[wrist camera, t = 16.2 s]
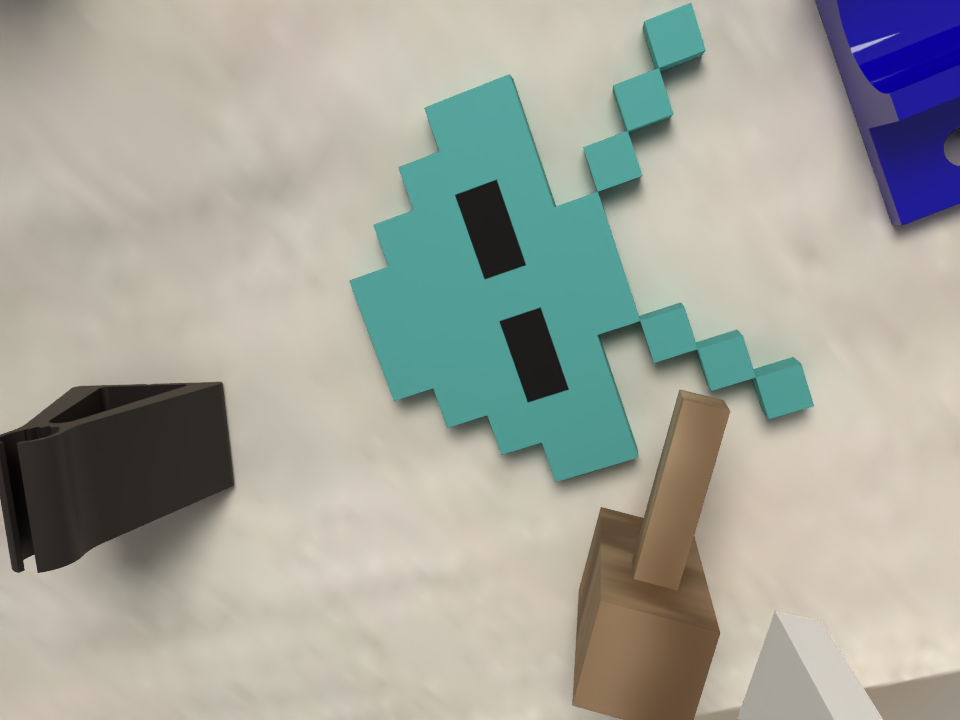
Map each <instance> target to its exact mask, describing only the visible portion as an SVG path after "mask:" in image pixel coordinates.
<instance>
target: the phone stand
mask: <svg viewBox="0 0 960 720" xmlns="http://www.w3.org/2000/svg"><path fill="white" fill-rule="evenodd" d="M233 485H234V483H233V474H232V466H231V457H230V448H229V440H228V431H227V422H226V414H225V405H224V396H223V388H222V382H204V383H170V384H151V385H147V384H136V385H102V386H78V387H73V388H71V389H70V390H69V391H68V392H66V393H65V394H64V395H63V396H61V397H60V398H59V399H57V400H56V401H55V402H54V403H52V404H51V405H50V406H48V407H47V408H46V409H45V410H43V411H42V412H41V413H40V414H38V415H37V416H36V417H34V418H33V419H32V420H31V421H29V422H28V423H27V424H25V425H24V426H22V427H20V428H18V429H15V430H13V431H10V432H7V433H4V434H1V435H0V500H1V506H2V512H3V518H4V524H5V530H6V536H7V542H8V548H9V554H10V560H11V566H12V570H13V571H15V572H18V573H19V572H22V571H24V570H25V569H24V563H23V560H24V559H26V558H28V557H30V556H32V555H35V559H36V565H37V571H38V573H40V572H46V571H51V570H55V569H58V568H61V567H64V566H67V565H69V564H71V563H73V562H75V561H77V560H78V559H80V558H81V557H82V556H83V555H84V554H85V553H87V552H88V551H89V550H91V549H92V548H94V547H96V546H98V545H100V544H102V543H104V542H106V541H108V540H111V539H113V538H115V537H117V536H120V535H122V534H124V533H127V532H129V531H131V530H133V529H136V528H138V527H140V526H142V525H145V524H147V523H149V522H152V521H154V520H156V519H158V518H161V517H163V516H165V515H167V514H170V513H172V512H174V511H177V510H179V509H181V508H183V507H186V506H188V505H190V504H192V503H195V502H197V501H199V500H202V499H204V498H206V497H208V496H211V495H213V494H215V493H217V492H220V491H222V490H224V489H227V488H229V487H231V486H233Z"/></svg>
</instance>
